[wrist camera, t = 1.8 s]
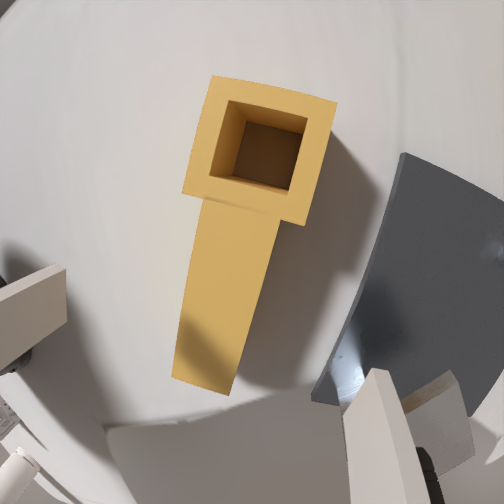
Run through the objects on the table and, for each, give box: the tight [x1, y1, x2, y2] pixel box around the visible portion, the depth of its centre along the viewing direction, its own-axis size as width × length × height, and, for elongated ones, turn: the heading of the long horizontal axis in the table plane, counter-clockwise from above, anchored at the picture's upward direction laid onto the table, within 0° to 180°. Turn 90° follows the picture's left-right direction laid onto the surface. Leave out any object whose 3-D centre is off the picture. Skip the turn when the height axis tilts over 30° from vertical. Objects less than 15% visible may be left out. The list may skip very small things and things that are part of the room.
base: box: [311, 152, 504, 417], centre depth 15 cm, size 20×21×11 cm
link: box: [171, 76, 337, 396], centre depth 18 cm, size 18×6×6 cm, turn 165°
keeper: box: [337, 369, 475, 477], centre depth 17 cm, size 8×10×10 cm
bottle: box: [0, 447, 41, 504], centre depth 29 cm, size 8×8×28 cm
